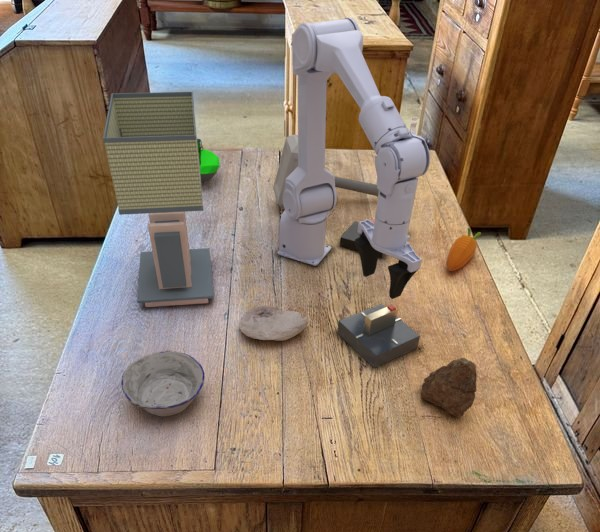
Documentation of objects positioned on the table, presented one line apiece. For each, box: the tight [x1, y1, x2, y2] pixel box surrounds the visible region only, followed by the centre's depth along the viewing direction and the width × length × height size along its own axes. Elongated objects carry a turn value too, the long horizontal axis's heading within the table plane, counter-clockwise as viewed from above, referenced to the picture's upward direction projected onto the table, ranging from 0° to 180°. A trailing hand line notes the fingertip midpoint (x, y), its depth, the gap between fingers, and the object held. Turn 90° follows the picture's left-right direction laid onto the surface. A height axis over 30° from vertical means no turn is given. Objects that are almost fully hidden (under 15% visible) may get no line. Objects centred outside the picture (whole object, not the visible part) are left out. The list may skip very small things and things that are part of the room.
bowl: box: [120, 350, 205, 417], centre depth 92 cm, size 13×13×5 cm
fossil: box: [238, 305, 309, 342], centre depth 104 cm, size 12×4×10 cm
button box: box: [339, 220, 386, 259], centre depth 126 cm, size 10×8×4 cm
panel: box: [337, 303, 421, 369], centre depth 104 cm, size 11×10×3 cm
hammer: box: [272, 134, 379, 210], centre depth 136 cm, size 15×8×30 cm
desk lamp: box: [102, 91, 215, 308], centre depth 103 cm, size 18×14×33 cm
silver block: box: [363, 304, 399, 336], centre depth 101 cm, size 6×2×4 cm, turn 123°
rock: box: [420, 357, 478, 418], centre depth 91 cm, size 10×6×10 cm
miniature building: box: [197, 138, 221, 185], centre depth 142 cm, size 12×12×11 cm
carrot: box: [446, 227, 482, 272], centre depth 122 cm, size 5×5×15 cm
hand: (381, 285), depth 103 cm, fingers open, 7 cm apart
